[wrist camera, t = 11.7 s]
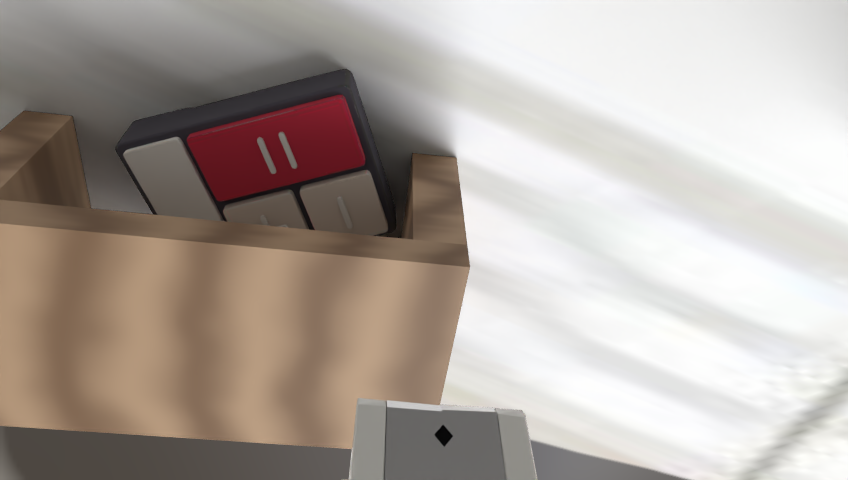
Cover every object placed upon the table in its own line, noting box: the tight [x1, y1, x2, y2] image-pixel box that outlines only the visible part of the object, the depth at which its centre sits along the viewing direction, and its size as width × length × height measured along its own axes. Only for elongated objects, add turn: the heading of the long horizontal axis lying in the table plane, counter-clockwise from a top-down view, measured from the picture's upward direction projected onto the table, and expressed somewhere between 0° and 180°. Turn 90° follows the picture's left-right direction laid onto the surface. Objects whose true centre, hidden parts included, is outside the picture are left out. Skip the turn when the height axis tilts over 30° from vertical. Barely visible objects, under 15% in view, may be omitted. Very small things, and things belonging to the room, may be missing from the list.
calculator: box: [116, 69, 396, 236], centre depth 43 cm, size 11×4×15 cm
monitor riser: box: [0, 111, 470, 449], centre depth 42 cm, size 28×16×12 cm, turn 83°
